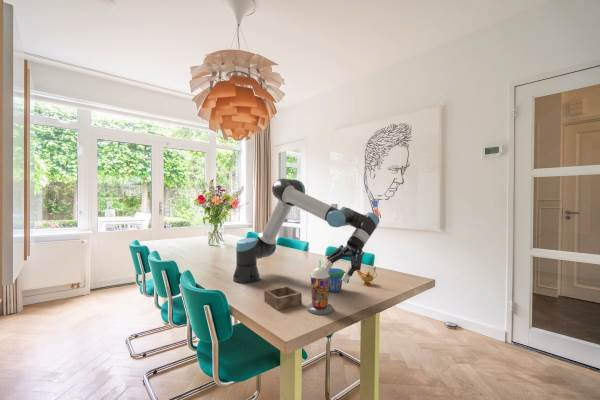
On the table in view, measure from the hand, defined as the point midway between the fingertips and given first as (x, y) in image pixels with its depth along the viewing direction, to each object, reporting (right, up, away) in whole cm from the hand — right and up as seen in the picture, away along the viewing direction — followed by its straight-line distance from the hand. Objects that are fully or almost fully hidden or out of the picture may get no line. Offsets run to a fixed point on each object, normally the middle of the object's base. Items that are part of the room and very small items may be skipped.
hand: (332, 277), depth 123 cm
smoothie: (-6, -12, -3) cm, 14 cm away
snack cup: (+3, -13, +22) cm, 26 cm away
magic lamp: (+22, -13, +34) cm, 42 cm away
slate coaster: (-6, -13, -3) cm, 15 cm away
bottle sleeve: (-22, -13, +4) cm, 26 cm away
